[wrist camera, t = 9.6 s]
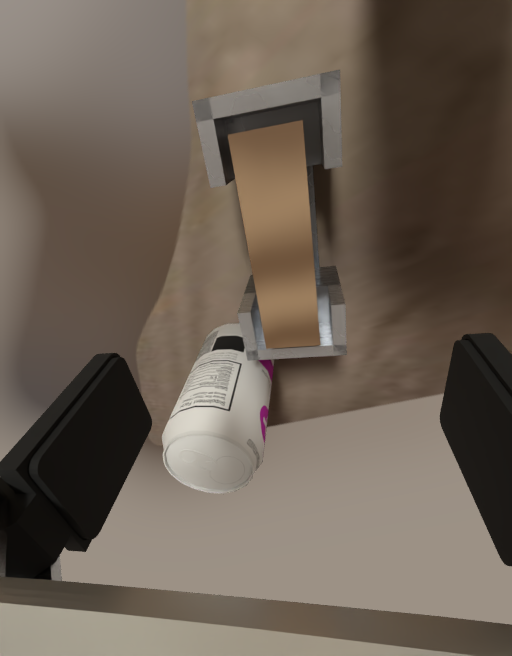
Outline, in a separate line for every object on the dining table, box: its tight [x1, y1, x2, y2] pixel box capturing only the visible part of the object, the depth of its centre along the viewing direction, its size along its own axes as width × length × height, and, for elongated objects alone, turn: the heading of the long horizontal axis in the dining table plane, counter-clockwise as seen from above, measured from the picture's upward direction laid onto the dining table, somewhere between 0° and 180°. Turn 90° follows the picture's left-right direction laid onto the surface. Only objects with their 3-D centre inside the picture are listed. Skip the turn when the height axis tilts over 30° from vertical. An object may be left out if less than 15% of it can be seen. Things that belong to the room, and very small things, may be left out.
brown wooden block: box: [228, 120, 320, 349], centre depth 23 cm, size 14×4×5 cm, turn 9°
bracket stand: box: [192, 70, 347, 361], centre depth 25 cm, size 19×8×8 cm, turn 9°
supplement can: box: [162, 323, 274, 493], centre depth 31 cm, size 8×8×15 cm
